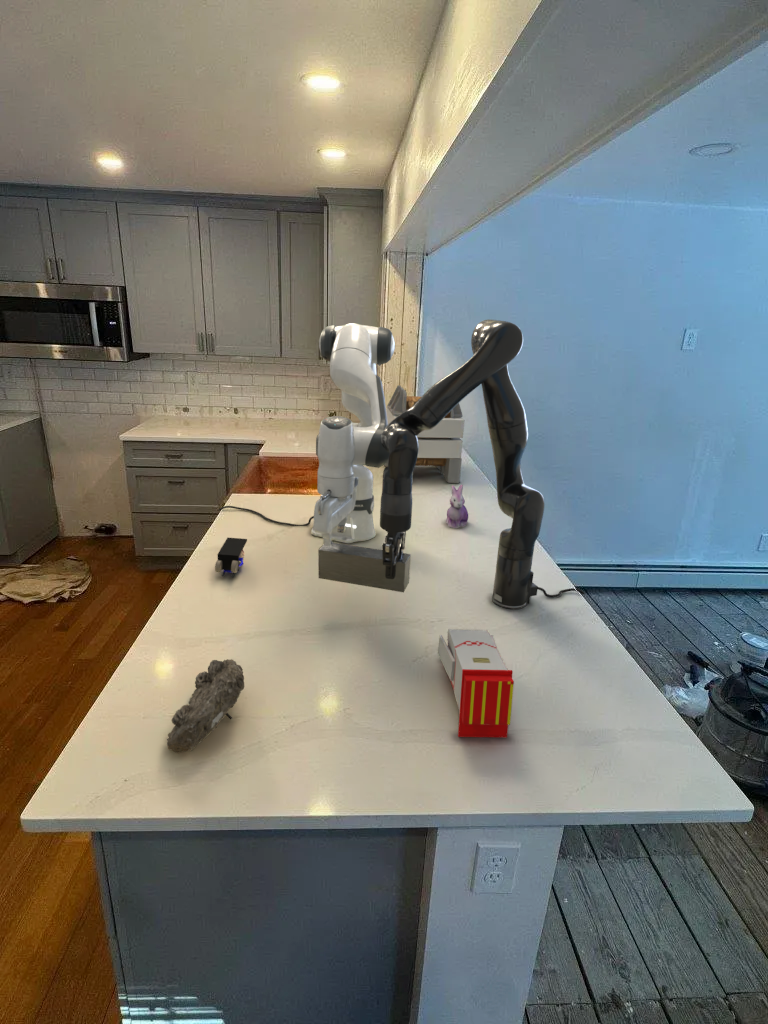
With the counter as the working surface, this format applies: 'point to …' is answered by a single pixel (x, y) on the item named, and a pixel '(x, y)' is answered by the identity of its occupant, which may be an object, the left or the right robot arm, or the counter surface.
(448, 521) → the figurine
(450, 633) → the toy
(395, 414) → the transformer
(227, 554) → the figurine character
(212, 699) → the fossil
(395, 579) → the bar
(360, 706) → the counter surface
